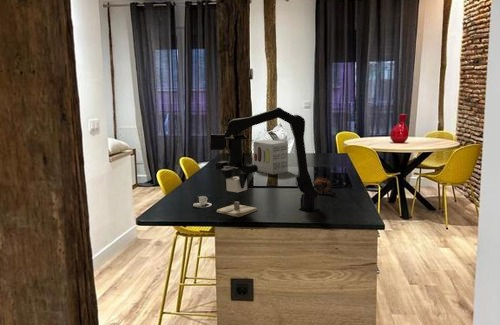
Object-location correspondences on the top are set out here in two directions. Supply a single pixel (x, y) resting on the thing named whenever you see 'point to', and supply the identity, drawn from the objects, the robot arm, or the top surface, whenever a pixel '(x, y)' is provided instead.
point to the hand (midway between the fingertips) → (236, 187)
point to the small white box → (235, 184)
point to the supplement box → (271, 156)
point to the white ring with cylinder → (202, 202)
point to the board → (236, 210)
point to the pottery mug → (322, 185)
